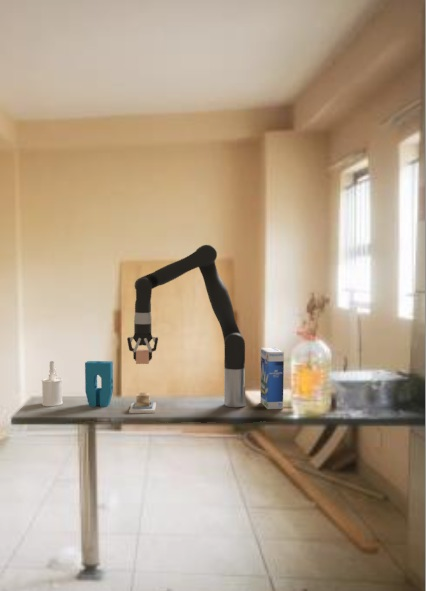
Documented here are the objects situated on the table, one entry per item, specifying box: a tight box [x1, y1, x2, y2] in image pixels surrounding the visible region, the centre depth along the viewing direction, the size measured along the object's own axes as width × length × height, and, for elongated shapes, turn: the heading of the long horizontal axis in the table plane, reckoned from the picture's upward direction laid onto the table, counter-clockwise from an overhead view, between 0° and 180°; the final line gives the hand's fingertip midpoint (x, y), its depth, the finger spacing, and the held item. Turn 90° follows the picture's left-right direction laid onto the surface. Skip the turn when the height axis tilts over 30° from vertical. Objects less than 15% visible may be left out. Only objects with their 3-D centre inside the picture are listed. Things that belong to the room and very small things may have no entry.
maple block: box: [135, 392, 151, 407], centre depth 233 cm, size 6×6×6 cm
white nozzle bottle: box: [41, 360, 64, 408], centre depth 241 cm, size 10×9×20 cm
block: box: [84, 360, 114, 408], centre depth 239 cm, size 12×5×20 cm, turn 85°
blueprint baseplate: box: [128, 401, 157, 414], centre depth 233 cm, size 11×13×2 cm
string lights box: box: [260, 347, 285, 410], centre depth 238 cm, size 13×8×26 cm, turn 10°
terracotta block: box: [135, 349, 150, 365], centre depth 232 cm, size 6×6×6 cm
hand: (142, 360), depth 232 cm, fingers closed on terracotta block, 5 cm apart
